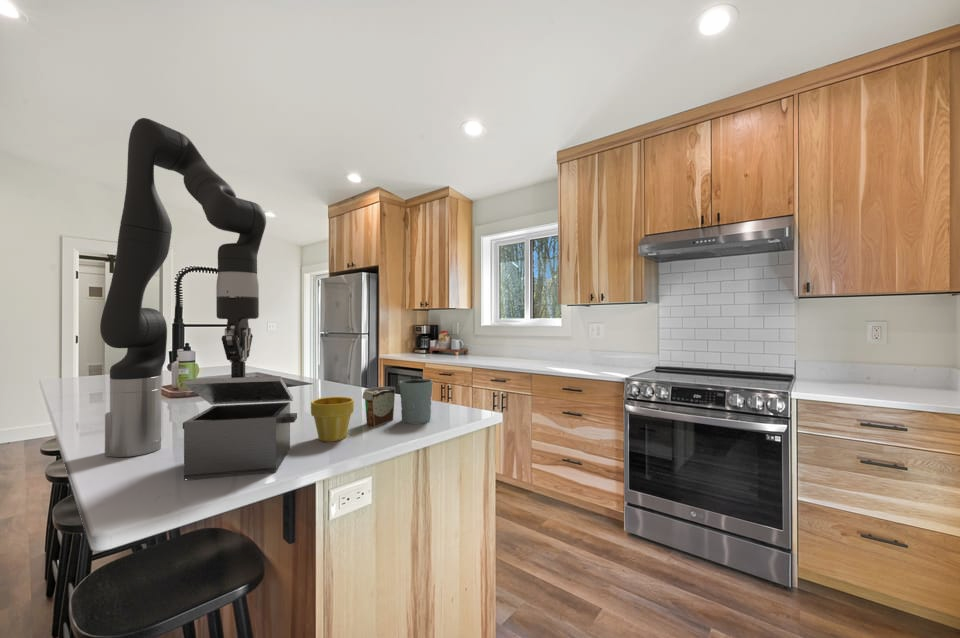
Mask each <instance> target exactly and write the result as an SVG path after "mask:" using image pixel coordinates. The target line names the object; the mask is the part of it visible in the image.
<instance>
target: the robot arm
mask: <svg viewBox="0 0 960 638" xmlns="http://www.w3.org/2000/svg"><path fill="white" fill-rule="evenodd" d="M127 144H128V145H127V146H128V147H127V171H126V185H125V186H126V187H125V195H124V202H123V208H122V214H121V218H120V223H119V230H118V237H117V247H116V248H117V249H116V255H115V260H114V264H113V271H112V278H111V281H110V286H109V290H108V293H107V296H106V299H105V303H104V306H103V310H102V315H101V318H100V323H99V324H100V325H99V327H100V328H99V329H100V330H99V331H100V336H101V338H102V340H103V342H104V343H105V344H106V345H107V346H109V347H111V348H114V349H127V351H126V354H125V356H124V357H122V359H121V360H119V361H118V362H116V363H114V364H112V365H111V367H110V369H109V411H108V412H106V413H105V414H104V457H113V458H124V457H125V458H126V457H127V458H128V457H135V456H142V455H145V454H151V453H153V452H156V451H158V450H160V449H161V448H162V369H163V367H164V365H165V361H166V356H167V344H168V343H167V342H168V326H167V321H166V319H165V316H164V315H163V314H162V312H160V311H159V310H157V309H155V308H151V307H143V301H144V294H145V290H146V288H147V286H148V285H149V283H150V281H151V280H152V278H153V277H154V275H156V273H157V272H158V271H159V269H160V268H161V266H162V265H163V264H164V263H165V261H166V259H167V258H168V256H169V251H170V247H171V238H172V232H173V230H172V229H173V227H172V222H171V219H170V217H169V214H168V212H167V210H166V208H165V205H164V204H163V202H162V201H161V198H160V196H159V194H158V191H157V188H156V184H155V170H154V169H155V166H156V167H159V168H161V169H165V170H166V171H167V170H168V171H173V172H176V173H178V174H180V175H181V176H183V178H182V179H183V184H184V186H185V189H186V190H187V192H188V193H189V194H190V196H192V198H193V199H194V200H195V201H196V202H197V203H199V204H200V205H201V207H202V210H203V213H204V214H205V215H204V216H205V217H206V220H207V221H208V223H209V224H211V226H214V228H216V229H218V230H221V231H224V232H230V233H236V234H238V235H239V236H238V239H237V240H236V242H230V243H224V244H221V245H219V247H218V250H217V278H216V284H215V285H216V288H215V289H216V290H215V292H216V294H215V295H216V300H215V301H216V304H215V305H216V318H217V319H219V320H227V322H226V328H224V335H222V336H221V342H222V345H223V349H224V352H225V353H224V354H225V356H226V360H227V361H229V363H231V364H230V366H231V367H230V368H231V369H230V370H231V371H230V372H231V376H230V378H242V377H246V362H247V360H248V358H249V356H250V353H251V347H252V342H253V337H254V336H253V333H252V329H251V327H250V325H249V320H257V319H258V318H259V317H260V313H259V312H260V310H259V309H260V307H259V306H260V304H259V303H260V302H259V301H260V300H259V297H260V295H259V294H260V293H259V289H260V288H259V280H258V254H259V250H260V246H261V243H262V239H263V237H264V236H263V235H264V233H265V229H266V225H267V217H266V213H265V210H264V209H263V207H262V206H261V205H259V204H258V203H256V202H253V201H251V200H246V199H243V198H239V197H237V194H236V192H235V189H233V187H232V186H231V185H230V184H228V182H226V180H225V179H223V178H222V177H221V176H220V175H219V174H217V172H215V170H213V169H212V168H211V167H210V166H209V164H208V163H207V162H206V159H204V157H203V156H202V155H201V152H199V150H198V148H197V147H196V145H195V144H194V143H193V142H192V140H190V138H189V137H187V135H185V134H183V133H182V132H180V131H178V130H175V129H173V128H171V127H169V126H167V125H164V124H162V123H160V122H157V121H155V120H152V119H150V118H146V117H141V118H139V119H137V120H136V121H135V122H134V124H133V125H132V127H131V130H130V133H129V137H128V143H127Z"/></svg>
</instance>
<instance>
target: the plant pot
mask: <svg viewBox="0 0 960 638" xmlns="http://www.w3.org/2000/svg"><path fill="white" fill-rule="evenodd" d="M354 404H355V403H354V398H352V397H349V396H348V397H347V396H346V397H345V396H327V397H320V398H317V399H313V400H311V402H310V415H311V416H312V417H313V419H314V423H315V428H316V432H317V437H318V440H319V441H321V442H329V443H330V442H337V441H341V440H343V439H345V438H346V437H347V434H348V433H347V432H348V429H349V424H350V419H351V415H352V414H353V413H354V410H355V409H354V408H355V405H354Z"/></svg>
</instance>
